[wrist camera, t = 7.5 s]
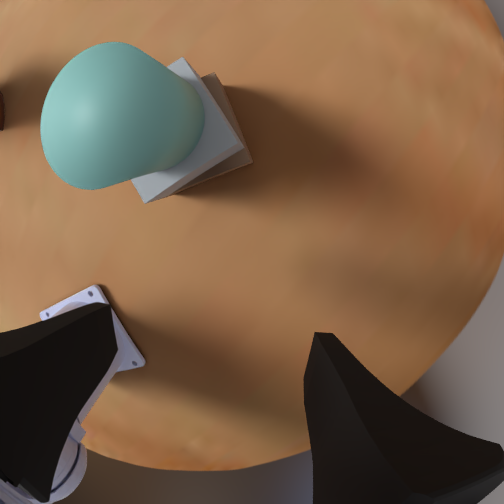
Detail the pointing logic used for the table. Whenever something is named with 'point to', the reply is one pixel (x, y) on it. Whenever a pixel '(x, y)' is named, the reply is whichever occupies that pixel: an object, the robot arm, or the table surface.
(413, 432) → the robot arm
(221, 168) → the tower base
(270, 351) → the table surface
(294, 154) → the table surface
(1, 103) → the food container
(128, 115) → the teal rounded piece
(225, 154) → the tower top
